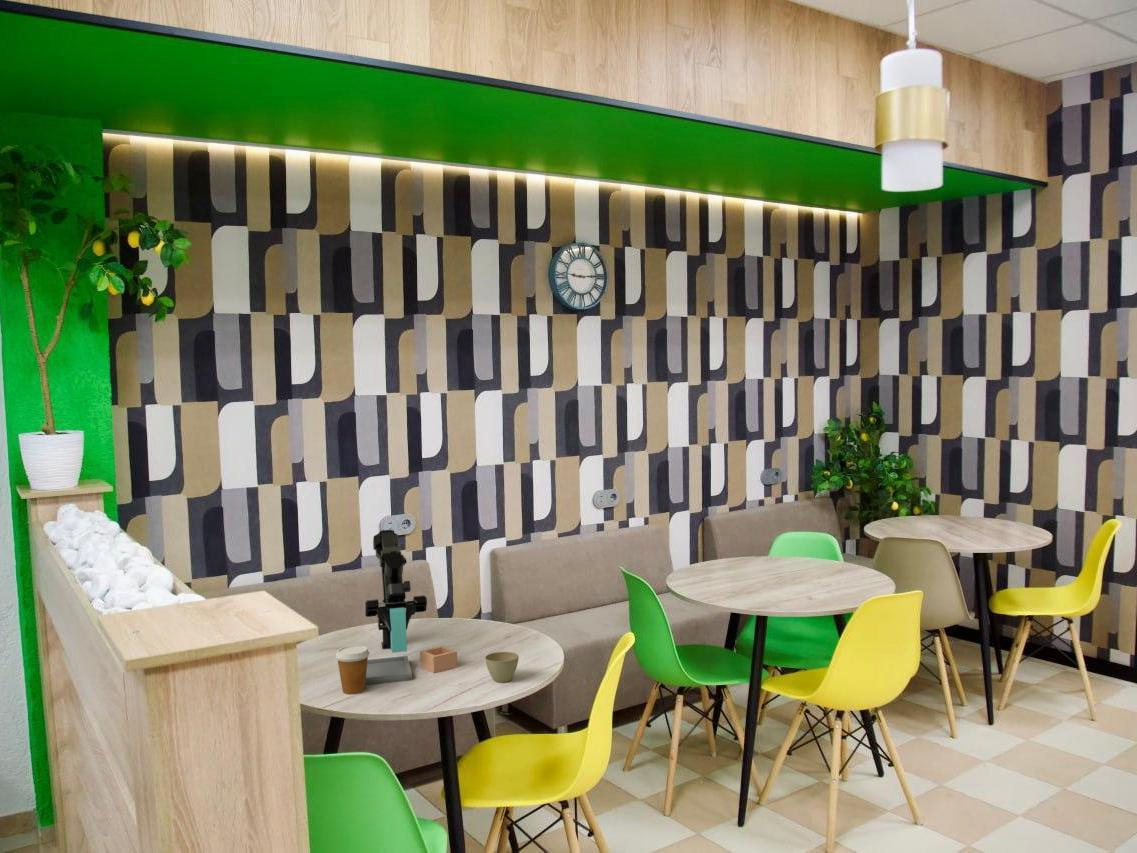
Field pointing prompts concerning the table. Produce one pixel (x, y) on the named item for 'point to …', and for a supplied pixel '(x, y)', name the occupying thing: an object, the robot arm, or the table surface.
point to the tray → (388, 670)
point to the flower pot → (502, 665)
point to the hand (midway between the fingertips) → (398, 630)
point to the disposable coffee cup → (353, 668)
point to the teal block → (398, 630)
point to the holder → (438, 659)
